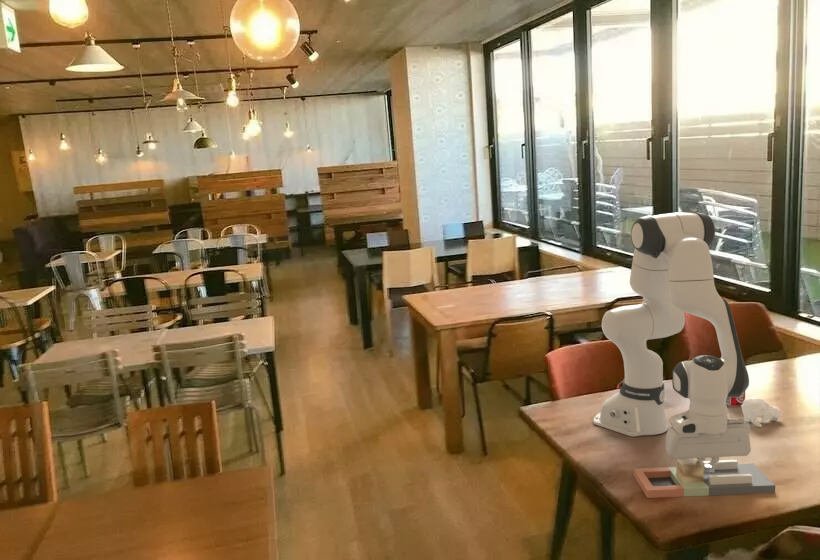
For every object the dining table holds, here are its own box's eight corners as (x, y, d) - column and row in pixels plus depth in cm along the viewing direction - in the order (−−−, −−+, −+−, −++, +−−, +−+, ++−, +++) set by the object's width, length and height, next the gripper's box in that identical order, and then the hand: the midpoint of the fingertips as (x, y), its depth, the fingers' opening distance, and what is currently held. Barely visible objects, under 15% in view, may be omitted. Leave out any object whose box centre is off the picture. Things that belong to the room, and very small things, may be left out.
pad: (690, 473, 179) (691, 466, 179) (708, 495, 167) (708, 487, 167) (667, 474, 180) (667, 467, 179) (684, 496, 168) (684, 488, 167)
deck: (752, 470, 178) (753, 463, 178) (775, 492, 167) (775, 485, 166) (633, 475, 180) (633, 468, 180) (647, 497, 168) (647, 490, 168)
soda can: (746, 402, 225) (747, 367, 223) (743, 409, 219) (744, 373, 217) (723, 399, 229) (723, 365, 227) (719, 406, 223) (720, 371, 221)
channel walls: (736, 466, 177) (736, 459, 177) (751, 483, 168) (751, 475, 168) (697, 468, 177) (697, 461, 177) (710, 484, 169) (710, 477, 168)
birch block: (695, 472, 175) (695, 458, 175) (703, 481, 170) (703, 466, 170) (676, 473, 175) (676, 459, 175) (683, 482, 171) (683, 467, 170)
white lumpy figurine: (740, 394, 208) (773, 392, 211) (737, 421, 210) (770, 419, 212) (754, 401, 202) (789, 399, 205) (751, 428, 204) (785, 426, 206)
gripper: (744, 414, 173) (743, 464, 175) (663, 418, 174) (663, 468, 176) (756, 423, 167) (754, 475, 169) (671, 427, 168) (671, 479, 170)
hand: (707, 472), depth 173 cm, fingers closed
